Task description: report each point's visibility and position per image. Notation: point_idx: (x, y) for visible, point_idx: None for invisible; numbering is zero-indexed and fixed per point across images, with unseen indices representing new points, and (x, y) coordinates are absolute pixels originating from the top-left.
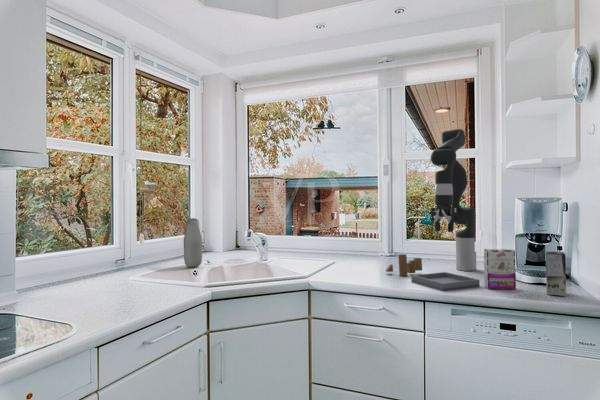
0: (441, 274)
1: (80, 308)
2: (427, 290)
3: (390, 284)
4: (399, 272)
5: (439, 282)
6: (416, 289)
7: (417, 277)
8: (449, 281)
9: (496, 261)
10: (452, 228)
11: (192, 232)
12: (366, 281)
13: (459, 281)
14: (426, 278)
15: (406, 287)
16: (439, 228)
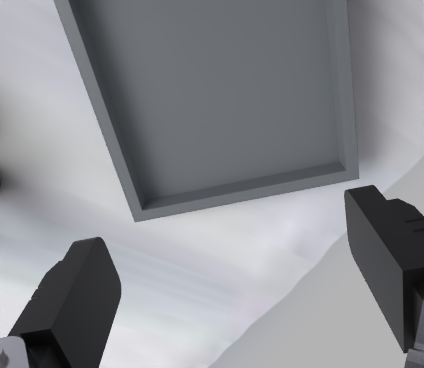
0: (80, 25)
1: None
2: (315, 218)
3: (177, 297)
4: None
5: (329, 181)
6: (286, 247)
7: (179, 212)
8: (214, 49)
9: None
10: (414, 229)
11: None
12: (110, 349)
13: (344, 70)
14: (122, 133)
15: (242, 266)
16: (93, 265)
